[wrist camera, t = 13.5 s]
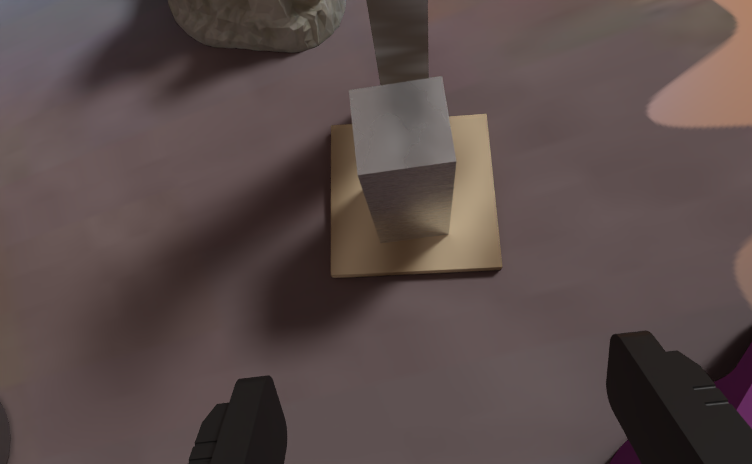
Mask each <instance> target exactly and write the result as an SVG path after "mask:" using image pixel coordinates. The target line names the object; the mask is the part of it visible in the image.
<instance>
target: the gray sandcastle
mask: <svg viewBox="0 0 752 464" xmlns="http://www.w3.org/2000/svg"><path fill="white" fill-rule="evenodd" d="M168 3H169V7H170V9H171V12H172V14H173V16H174V19H175V21H176V22H177V23H178V25H179V26H180V27H181V28H182V29H183V30H184V31H185V32H186V33H187V34H188V35H190V36H191V37H192V38H194V39H195V40H197V41H198V42H200V43H203V44H205V45H208V46H212V47H223V48H239V49H250V50H256V51H265V50H266V51H274V52H290V53H295V52H302V51H305V50H308V49H310V48H313V47H316V46H317V45H318V46H319V45H320V44H321V43H322V42H323V41H325V40H326V39H327V38H328V37H330V36H331V35H332V34H333V33H334V30H336V29H337V28H338V27H339V25H340V22H341V20H342V17H343V14H344V11H345V8H346V0H168Z"/></svg>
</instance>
